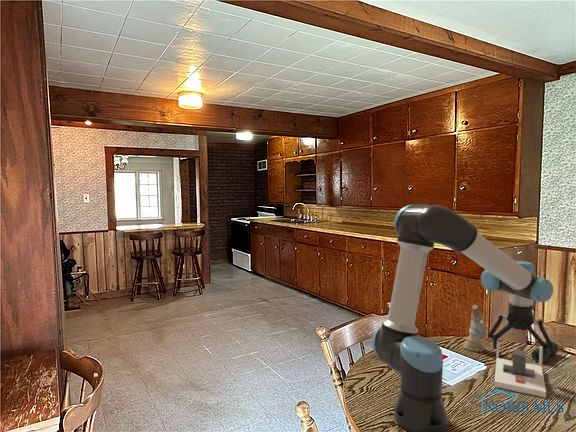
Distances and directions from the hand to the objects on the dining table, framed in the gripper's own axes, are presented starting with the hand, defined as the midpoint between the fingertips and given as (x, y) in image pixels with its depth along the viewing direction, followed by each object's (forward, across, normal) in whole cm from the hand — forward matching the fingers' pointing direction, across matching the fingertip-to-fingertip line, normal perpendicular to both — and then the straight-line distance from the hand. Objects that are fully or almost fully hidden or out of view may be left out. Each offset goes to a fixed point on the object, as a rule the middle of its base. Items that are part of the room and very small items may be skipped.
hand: (518, 361), depth 142 cm
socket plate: (+6, 0, +2) cm, 6 cm away
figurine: (+6, +16, -20) cm, 26 cm away
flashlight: (+6, -10, -24) cm, 27 cm away
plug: (+6, 0, 0) cm, 6 cm away
